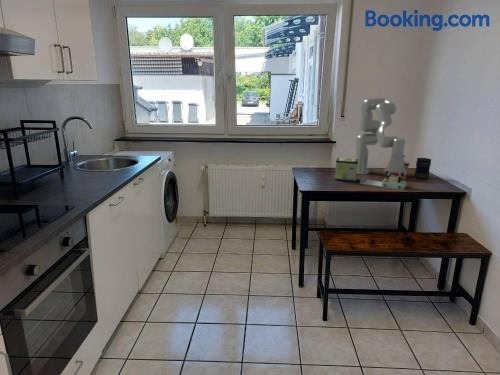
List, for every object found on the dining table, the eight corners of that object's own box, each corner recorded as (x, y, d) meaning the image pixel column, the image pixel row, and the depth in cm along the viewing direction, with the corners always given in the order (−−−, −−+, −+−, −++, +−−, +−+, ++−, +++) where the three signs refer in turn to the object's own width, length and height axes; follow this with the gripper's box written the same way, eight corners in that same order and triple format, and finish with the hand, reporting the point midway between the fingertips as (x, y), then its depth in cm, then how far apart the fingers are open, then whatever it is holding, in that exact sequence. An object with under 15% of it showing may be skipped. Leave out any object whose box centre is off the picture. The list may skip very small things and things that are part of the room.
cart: (381, 185, 238) (381, 182, 237) (385, 182, 247) (385, 178, 246) (402, 189, 230) (402, 185, 230) (405, 185, 240) (406, 181, 239)
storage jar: (430, 180, 253) (433, 160, 249) (416, 179, 255) (418, 160, 251) (426, 176, 263) (429, 157, 258) (412, 176, 264) (415, 157, 260)
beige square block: (390, 180, 242) (391, 175, 241) (399, 181, 239) (400, 176, 238) (388, 182, 238) (388, 177, 236) (397, 183, 234) (397, 178, 233)
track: (359, 183, 246) (360, 178, 245) (364, 179, 256) (365, 174, 255) (403, 190, 230) (403, 184, 229) (406, 185, 240) (407, 180, 239)
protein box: (336, 177, 264) (337, 157, 259) (356, 178, 259) (358, 158, 254) (334, 180, 254) (336, 160, 250) (356, 182, 249) (358, 161, 245)
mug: (403, 177, 261) (406, 160, 257) (409, 180, 253) (411, 162, 249) (387, 177, 261) (389, 160, 257) (392, 180, 252) (395, 163, 248)
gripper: (411, 156, 231) (408, 182, 236) (385, 154, 240) (382, 178, 246) (409, 158, 225) (406, 184, 230) (382, 155, 234) (379, 180, 240)
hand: (393, 181), depth 238 cm, fingers closed on beige square block, 6 cm apart
